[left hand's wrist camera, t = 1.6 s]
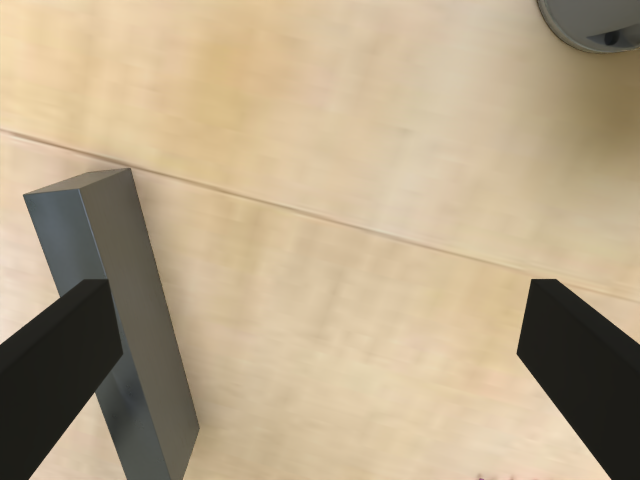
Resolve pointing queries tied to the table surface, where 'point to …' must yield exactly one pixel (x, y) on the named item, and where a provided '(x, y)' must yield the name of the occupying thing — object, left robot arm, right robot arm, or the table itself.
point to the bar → (123, 316)
